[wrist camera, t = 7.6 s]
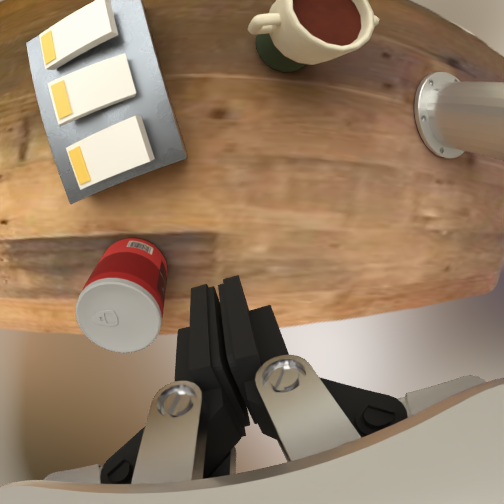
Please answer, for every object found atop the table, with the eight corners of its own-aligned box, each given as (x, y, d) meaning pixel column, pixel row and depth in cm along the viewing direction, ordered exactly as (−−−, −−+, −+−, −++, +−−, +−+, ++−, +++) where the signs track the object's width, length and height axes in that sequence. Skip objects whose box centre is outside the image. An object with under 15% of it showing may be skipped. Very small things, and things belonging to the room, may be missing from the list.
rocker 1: (110, 0, 17) (103, -5, 16) (118, 34, 19) (110, 30, 17) (47, 37, 18) (38, 34, 16) (54, 70, 20) (44, 69, 18)
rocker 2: (124, 58, 21) (125, 52, 20) (135, 96, 23) (136, 92, 21) (50, 86, 19) (47, 82, 18) (61, 126, 21) (58, 124, 19)
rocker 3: (140, 115, 22) (134, 115, 21) (154, 158, 24) (149, 161, 23) (73, 145, 23) (64, 148, 21) (87, 185, 25) (79, 190, 23)
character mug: (321, 18, 27) (381, -22, 15) (333, 72, 30) (403, 53, 18) (226, 25, 26) (248, -29, 14) (240, 83, 29) (270, 56, 17)
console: (144, 7, 23) (136, -13, 18) (187, 154, 31) (186, 159, 25) (43, 53, 22) (20, 43, 17) (83, 194, 30) (64, 207, 25)
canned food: (92, 249, 32) (59, 298, 22) (151, 224, 33) (136, 267, 23) (121, 303, 36) (103, 362, 26) (178, 282, 36) (176, 340, 26)
